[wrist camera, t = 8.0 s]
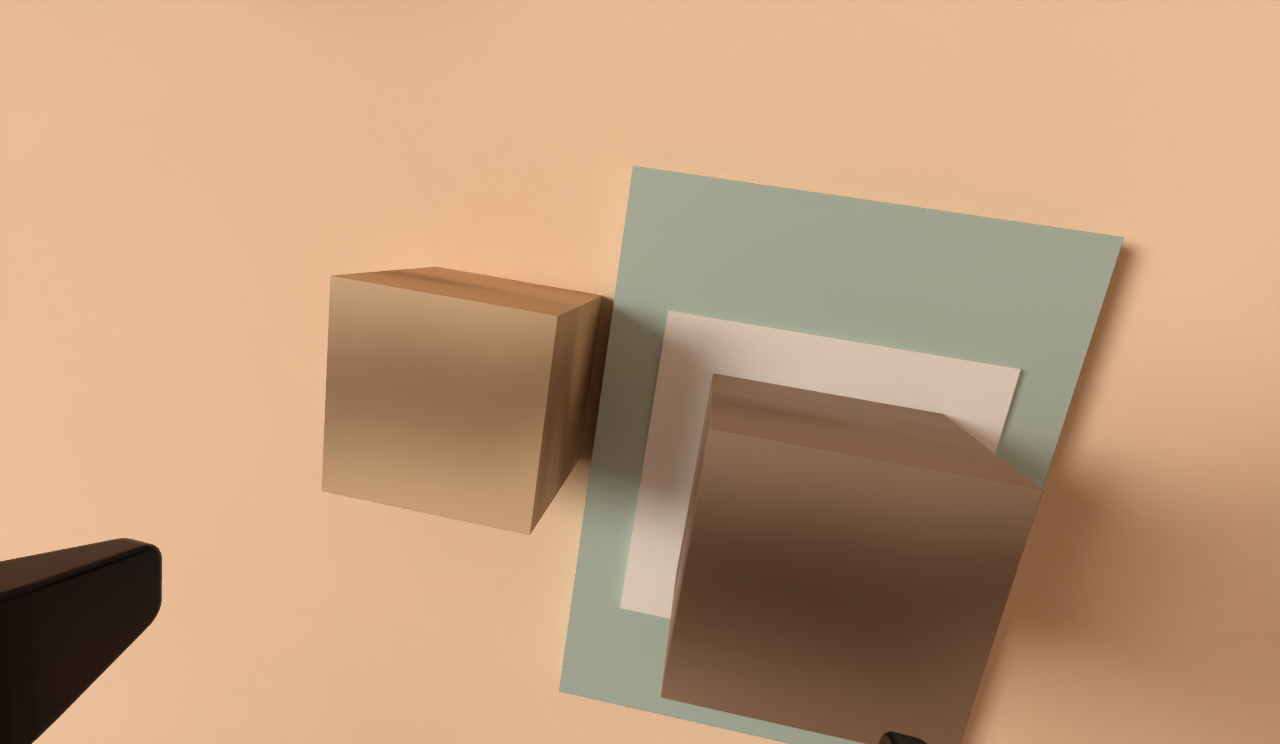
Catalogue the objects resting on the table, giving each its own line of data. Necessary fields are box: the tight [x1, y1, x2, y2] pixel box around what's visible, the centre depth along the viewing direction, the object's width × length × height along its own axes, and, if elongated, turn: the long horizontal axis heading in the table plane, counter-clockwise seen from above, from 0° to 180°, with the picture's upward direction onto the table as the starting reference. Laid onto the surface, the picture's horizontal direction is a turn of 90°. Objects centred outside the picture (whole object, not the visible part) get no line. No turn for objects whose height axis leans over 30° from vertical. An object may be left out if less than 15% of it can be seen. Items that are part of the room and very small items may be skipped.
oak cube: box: [322, 267, 602, 535], centre depth 16 cm, size 5×5×5 cm
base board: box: [559, 166, 1124, 744], centre depth 17 cm, size 16×12×1 cm
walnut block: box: [661, 373, 1043, 744], centre depth 14 cm, size 6×6×5 cm
